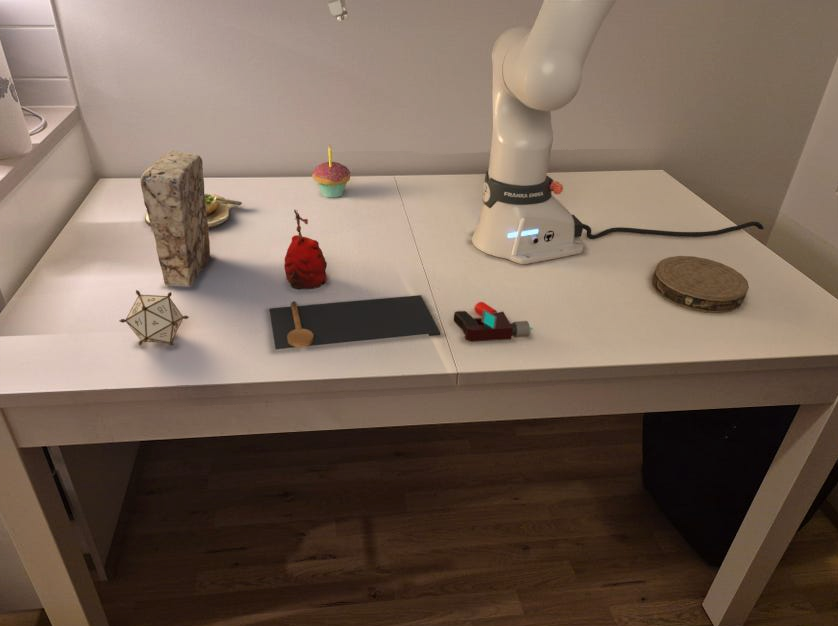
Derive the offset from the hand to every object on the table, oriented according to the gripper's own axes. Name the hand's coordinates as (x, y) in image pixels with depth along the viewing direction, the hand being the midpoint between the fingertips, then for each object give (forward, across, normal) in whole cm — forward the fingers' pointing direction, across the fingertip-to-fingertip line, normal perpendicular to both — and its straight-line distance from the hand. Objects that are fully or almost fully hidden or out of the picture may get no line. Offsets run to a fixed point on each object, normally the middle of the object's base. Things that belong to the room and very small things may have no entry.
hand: (340, 18), depth 100 cm
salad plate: (+24, +25, +44) cm, 56 cm away
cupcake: (+30, +40, +16) cm, 52 cm away
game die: (+36, -21, +39) cm, 57 cm away
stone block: (+31, +1, +39) cm, 50 cm away
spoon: (+41, -15, +19) cm, 48 cm away
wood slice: (+60, +2, -49) cm, 78 cm away
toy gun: (+51, -13, -10) cm, 53 cm away
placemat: (+44, -13, +11) cm, 47 cm away
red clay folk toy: (+38, -2, +19) cm, 43 cm away
